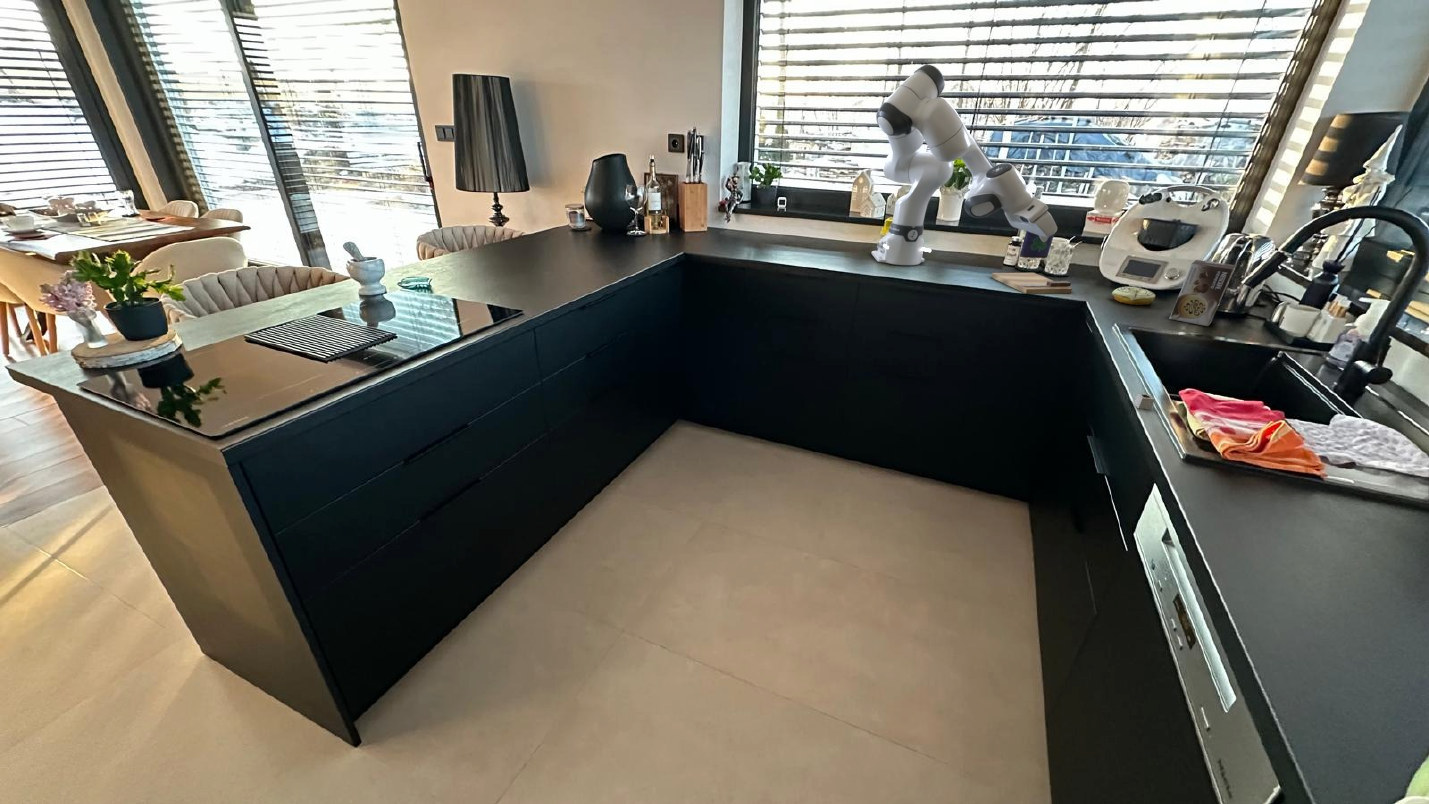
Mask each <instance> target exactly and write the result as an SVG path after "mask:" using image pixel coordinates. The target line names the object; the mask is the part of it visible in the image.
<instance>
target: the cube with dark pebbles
mask: <svg viewBox="0 0 1429 804" xmlns="http://www.w3.org/2000/svg"><path fill="white" fill-rule="evenodd" d="M1155 400H1156V398H1154V397H1153V396H1152V395H1151V394H1145V393H1137V394H1136V396H1135V399H1134V401H1133V404H1134V406H1135V407H1136V408H1138V409H1140V410H1150V411H1151V410H1152V407H1153V405H1154V403H1155Z"/></svg>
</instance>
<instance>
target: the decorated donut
mask: <svg viewBox="0 0 1429 804" xmlns="http://www.w3.org/2000/svg"><path fill="white" fill-rule="evenodd" d="M1111 296H1112V297H1113V299H1114V300H1115V301H1116V302H1119V303H1121V304H1126V305H1131V306H1132V305H1134V306H1145V305H1150V304H1152V303H1153V302H1154V301H1155V298H1156V294H1155V293H1154V292H1152V291H1151V290H1148V289H1146V288H1145V289H1144V288H1141V287H1136V286H1121V287H1118V288H1116V289H1114V290H1113V291H1112V292H1111Z"/></svg>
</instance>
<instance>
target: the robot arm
mask: <svg viewBox="0 0 1429 804" xmlns="http://www.w3.org/2000/svg"><path fill="white" fill-rule="evenodd" d="M944 90H945V77H944V75H943V73H942V72H941V71H940V69H939V68H938V67H936V66H935V65H932V64H924V65H922V66H920V67H918V68H917V69H916V70H914V72H913V74H911V75H909V76H908V77H907V78H906V79H905V80H904V81H903V82H902V83H901V84H899V86H897V88H896V89H895V90H894V91H893V92H892V94H891V95H889V96H888V97H886V99H885V100H884V101H883V102H882V104H881V105H880V107H879V108H878V110H877V112H876V114H875V119H876V123H877V125H878V127H879V129H880V130H881V131H882V132H883V133H884V134H885V135H886V137H887V140H888V143H889V145H890V149H891V152H890V153H889V154H888V155H887V156H886V157H885V160H884V162H883V168H882V171H883V175H884V177H885V178H886V179H887V180H889V181H893V182H895V183H898V184H907V185H911V187H910V189H909V191H908V193H906V194H904V195H902V196H901V197H899V198H898V199H897V200H896V202H895V203H894V211H893V217H892V221H891V222H890V225H889V227H888V232H887V233H886V234H885V235H884V236H883V237H881V238H880V240H879V241H878V242H876V248H877V250H872V251H871V255H872V256H873V258H874V259H875V260H876V261H877V262H878V263H885V264H889V265H890V264H891V265H897V266H917V265H920V264H921V263H924V262H925V260H926V259H925V258H924V257H923V254H924V253H923V252H926V253H927V252H928V253H931V252H932V249H931V248H927V247H924V244H925V240H924V238H923V236H922V235H923V234H924V230H925V228H924V226H925V225H924V222H925V216H926V212H927V209H928V204H929V203H930V200H931V198H932V196H933V195H934V194H935V193H936V191H937V190H938V189H940V188H941V187H942V186H944V185H945V184H947V183H948V182H949V180H950V179H951V177H952V176H953V173H954V169H955V168H954V161H956V160H958V159H960V160H961V161H962V162H963V163H964V165H965V167H966V168H967V170H968V171H969V172H970V174H971V176H972V179H971V180H972V181H971V186H970V189H969V191H968V193H967V196H966V198H965V201H964V205H963V207H964V210H965V212H966V214H967V215H968V216H970V217H972V218H974V219H984V218H987V217H989V216H991V215H993V214H995V213H997V212H998V211H1000V210H1001V209H1002V210H1003V212H1004V215H1005V217H1006V220H1007V221H1008V223H1009V225H1010V226H1011V227H1013V228H1014V229H1018V230H1021V231H1025V232H1026V231H1029V232H1031V233H1034V234H1037V235H1039V240H1040V241H1041V242H1045V241H1047V240H1048V238H1049V237H1050V236H1052V235H1053V234H1054V233H1055V234H1056V233H1057V231H1058V226H1057V224H1056V222H1055V220H1054V218H1053V216H1052V214H1051V213H1050V212H1049V211H1048V210H1049V206H1048V204H1046V203H1045V202H1043V201H1041V200H1040V199H1038V198H1037V196H1035V195H1034V194H1033V193H1032V191H1031V190H1030V189H1029V188H1028V187H1027V183H1026V181H1025V179H1024V178H1023V176H1022V174H1021V172H1019V170H1018V169H1017V168H1016V167H1015V166H1014V165H1013V164H1011V163H1009V162H1001V163H998V164H996V165H995V164H994V163H993V162H992V161H991V159H990V158H989V157H988V155H987V153H986V151H984V150H983V148H982V145H980V143H979V141H977V139H976V138H975V136H974V135H972V134H971V133H970V132H969V130H968V129H967V127H966V126H965V124H964V121H963V120H962V118H961V117H960V115H959V113H958V112H957V110H956V109H955V108H954V106H952V105H951V103H950V102H949V101H948V100H947V99H946V98H944V97H941V94H942V92H943V91H944ZM924 142H925V143H926V145H927V147H928V149H929V150H930V151H922V150H919V149H920V148H921V147H922V146H923V144H924ZM1055 234H1054V235H1055Z"/></svg>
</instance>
